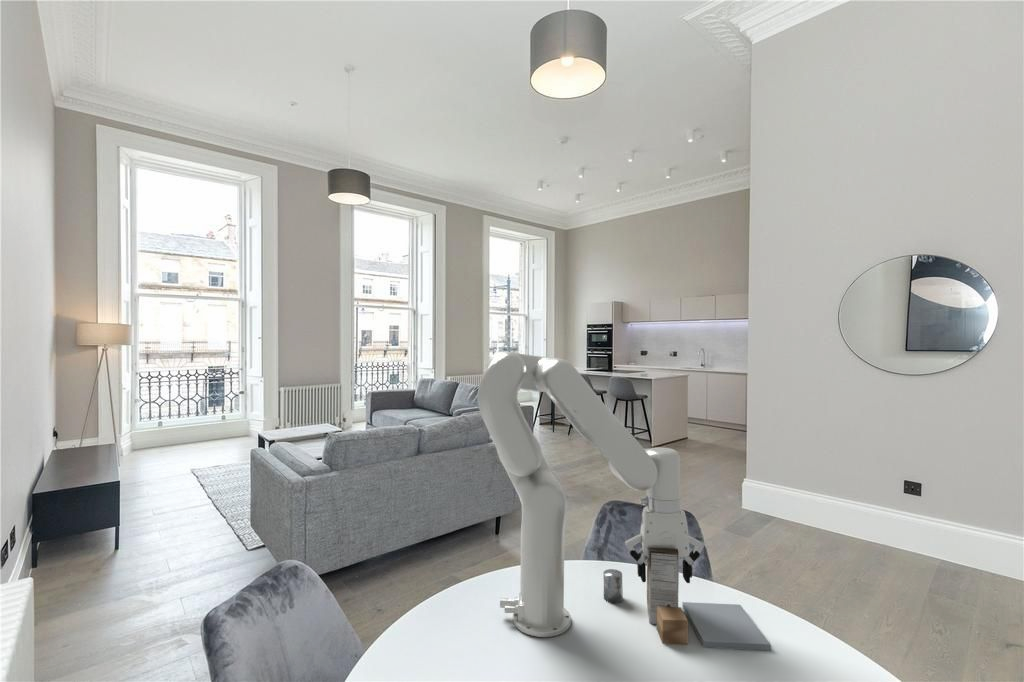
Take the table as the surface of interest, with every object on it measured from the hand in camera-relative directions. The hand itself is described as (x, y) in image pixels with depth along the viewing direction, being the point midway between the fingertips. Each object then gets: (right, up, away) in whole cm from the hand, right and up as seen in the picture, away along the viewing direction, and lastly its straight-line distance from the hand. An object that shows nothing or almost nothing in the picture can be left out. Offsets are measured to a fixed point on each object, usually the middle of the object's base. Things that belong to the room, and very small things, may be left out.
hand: (664, 579), depth 109 cm
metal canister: (-10, -8, +7) cm, 14 cm away
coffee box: (-1, -8, 0) cm, 8 cm away
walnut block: (-1, -8, -9) cm, 12 cm away
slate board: (+11, -8, -5) cm, 14 cm away
